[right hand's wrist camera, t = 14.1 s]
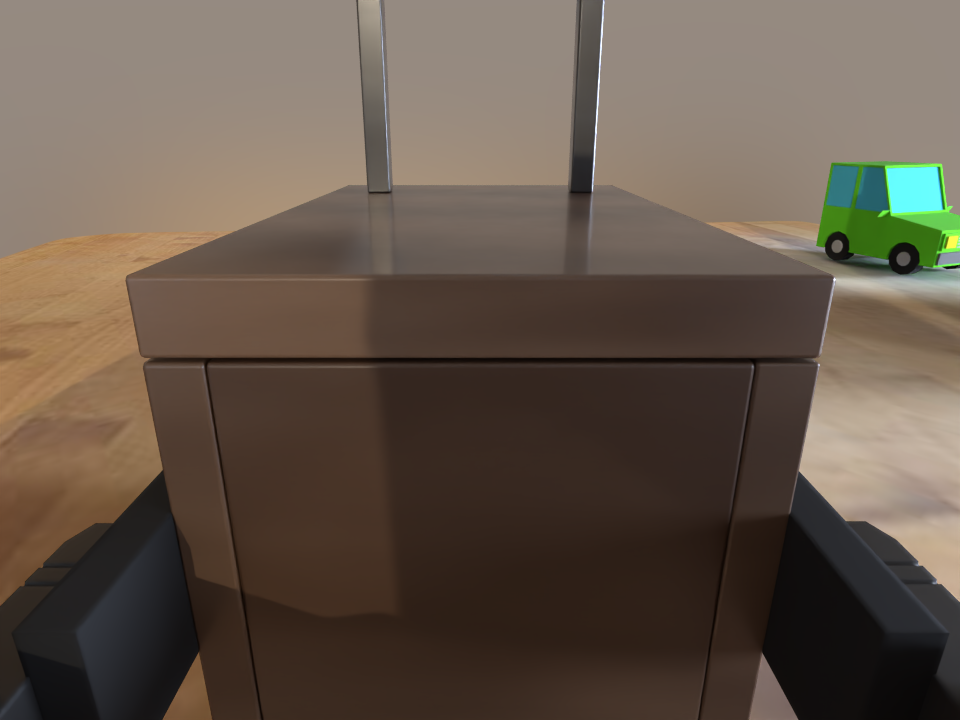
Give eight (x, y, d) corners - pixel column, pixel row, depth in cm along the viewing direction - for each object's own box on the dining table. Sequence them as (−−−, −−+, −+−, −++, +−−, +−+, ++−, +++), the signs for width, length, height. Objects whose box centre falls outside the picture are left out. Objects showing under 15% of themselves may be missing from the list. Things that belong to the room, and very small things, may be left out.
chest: (363, 483, 25) (344, 223, 22) (597, 483, 25) (616, 223, 22) (238, 859, 12) (139, 362, 9) (722, 860, 12) (821, 363, 9)
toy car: (924, 282, 58) (952, 169, 55) (807, 257, 70) (824, 162, 66) (996, 273, 61) (1027, 167, 58) (873, 251, 73) (892, 161, 70)
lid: (349, 219, 23) (329, -70, 20) (611, 219, 23) (631, -70, 20) (138, 360, 9) (-45, -567, 6) (822, 360, 9) (1007, -566, 6)
